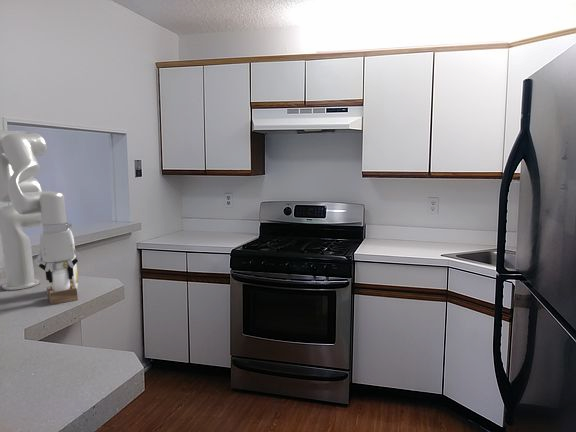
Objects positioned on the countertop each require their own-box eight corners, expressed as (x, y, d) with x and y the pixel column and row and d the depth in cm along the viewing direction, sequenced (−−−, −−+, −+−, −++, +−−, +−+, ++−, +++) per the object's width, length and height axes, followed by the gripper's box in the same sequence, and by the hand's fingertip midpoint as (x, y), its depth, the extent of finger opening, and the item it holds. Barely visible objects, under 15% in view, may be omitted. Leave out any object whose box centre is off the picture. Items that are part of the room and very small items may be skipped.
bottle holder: (47, 298, 162) (46, 286, 161) (72, 293, 166) (71, 282, 166) (51, 304, 154) (50, 293, 153) (77, 299, 158) (76, 288, 158)
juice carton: (80, 291, 169) (73, 226, 166) (56, 295, 165) (49, 229, 162) (76, 285, 177) (70, 224, 174) (53, 289, 173) (46, 226, 170)
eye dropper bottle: (70, 292, 159) (66, 258, 157) (52, 295, 157) (48, 260, 155) (71, 289, 163) (67, 256, 161) (53, 291, 161) (49, 258, 159)
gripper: (80, 224, 165) (84, 273, 167) (25, 230, 155) (31, 282, 158) (84, 226, 159) (89, 277, 161) (27, 233, 149) (33, 287, 151)
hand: (60, 279), depth 159 cm, fingers closed on eye dropper bottle, 5 cm apart
